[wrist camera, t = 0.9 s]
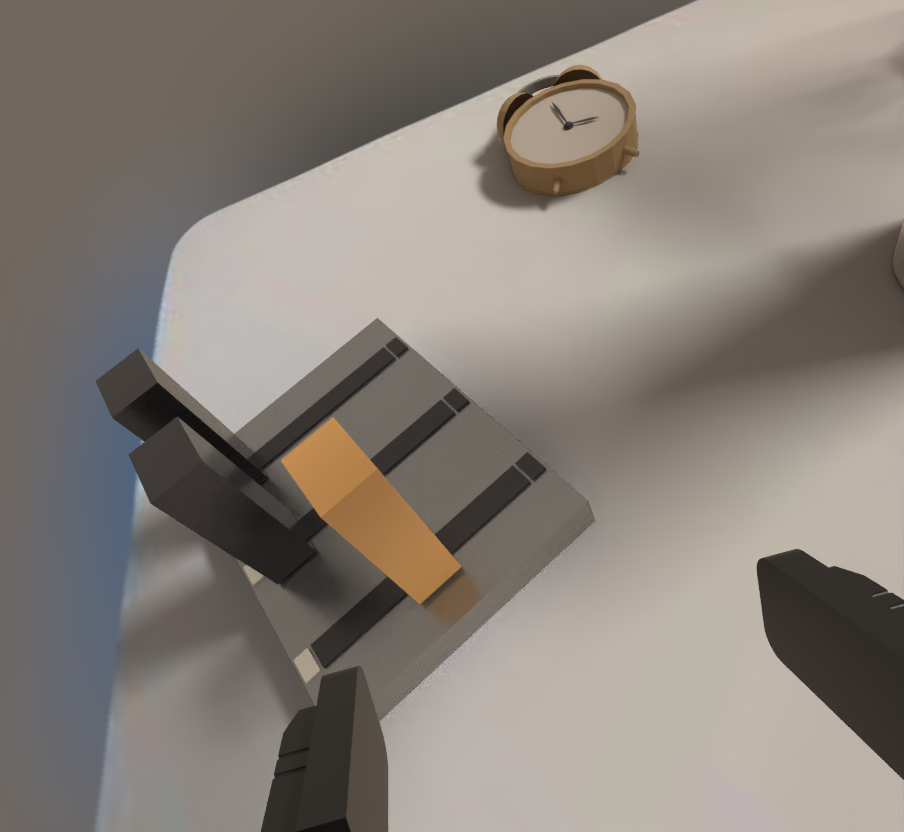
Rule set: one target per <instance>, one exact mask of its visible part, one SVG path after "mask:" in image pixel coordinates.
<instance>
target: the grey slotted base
mask: <svg viewBox="0 0 904 832" xmlns="http://www.w3.org/2000/svg"><path fill="white" fill-rule="evenodd" d="M96 383H97V385H98V387H99V389H100V392H101V394H102V396H103V398H104V401H105V403H106V405H107V407H108V409H109V412H110V414H111V416H112V418H113V419H115V420H116V421H117V422H119V423H120V424H121V425H123V426H124V427H125V428H127V429H128V430H130V431H131V432H132V433H134V434H135V435H136V436H138V437H139V438H140V439H142V440H143V441H144V443H143V444H142V445H140V446H139V447H138V448H136V449H135V450H134V451H133V452H132V453H130V454H129V456H130V458H131V461H132V463H133V465H134V468H135V470H136V472H137V474H138V476H139V479H140V481H141V483H142V485H143V488H144V490H145V492H146V494H147V497H148V499H149V501H150V503H151V504H152V505H154V506H155V507H157V508H158V509H160V510H162V511H163V512H165V513H166V514H168V515H169V516H171V517H173V518H174V519H176V520H177V521H179V522H180V523H182V524H183V525H185V526H187V527H188V528H190V529H191V530H193V531H194V532H196V533H198V534H199V535H201V536H202V537H204V538H205V539H207V540H209V541H210V542H212V543H213V544H215V545H216V546H218V547H220V548H221V549H223V550H224V551H226V552H227V553H229V554H230V555H232V556H234V557H235V558H236V560H237V562H238V564H239V565H240V567H241V569H242V571H243V573H244V575H245V577H246V578H247V580H248V582H249V584H250V586H251V588H252V590H253V591H254V593H255V595H256V597H257V599H258V601H259V603H260V604H261V606H262V608H263V610H264V612H265V614H266V616H267V618H268V619H269V621H270V623H271V625H272V627H273V629H274V631H275V632H276V634H277V636H278V638H279V640H280V642H281V644H282V645H283V647H284V649H285V651H286V653H287V655H288V657H289V658H290V660H291V662H292V664H293V666H294V668H295V670H296V672H297V673H298V675H299V677H300V679H301V681H302V683H303V685H304V686H305V688H306V690H307V692H308V694H309V696H310V698H311V699H312V701H313V703H314V705H315V706H316V705H317V699H318V693H319V688H320V682H321V678H322V676H323V675H326V674H330V673H334V672H338V671H341V670H345V669H349V668H352V667H356V666H361V668H362V669H363V672H364V674H365V677H366V680H367V684H368V687H369V690H370V694H371V697H372V700H373V704H374V707H375V710H376V713H377V717H378V720H379V721H380V720H381V719H382V718H383V717H384V716H385V715H386V714H387V713H388V712H389V711H390V710H392V709H393V708H394V707H395V706H396V705H397V704H398V703H399V702H400V701H401V700H402V699H403V698H404V697H406V696H407V695H408V694H409V693H410V692H411V691H412V690H413V689H414V688H415V687H416V686H417V685H418V684H420V683H421V682H422V681H423V680H424V679H425V678H426V677H427V676H428V675H429V674H430V673H431V672H432V671H434V670H435V669H436V668H437V667H438V666H439V665H440V664H441V663H442V662H443V661H444V660H445V659H446V658H448V657H449V656H450V655H451V654H452V653H453V652H454V651H455V650H456V649H457V648H458V647H459V646H460V645H461V644H463V643H464V642H465V641H466V640H467V639H468V638H469V637H470V636H471V635H472V634H473V633H474V632H475V631H477V630H478V629H479V628H480V627H481V626H482V625H483V624H484V623H485V622H486V621H487V620H488V619H489V618H491V617H492V616H493V615H494V614H495V613H496V612H497V611H498V610H499V609H500V608H501V607H502V606H503V605H505V604H506V603H507V602H508V601H509V600H510V599H511V598H512V597H513V596H514V595H515V594H516V593H517V592H519V591H520V590H521V589H522V588H523V587H524V586H525V585H526V584H527V583H528V582H529V581H530V580H531V579H532V578H534V577H535V576H536V575H537V574H538V573H539V572H540V571H541V570H542V569H543V568H544V567H545V566H546V565H548V564H549V563H550V562H551V561H552V560H553V559H554V558H555V557H556V556H557V555H558V554H559V553H560V552H562V551H563V550H564V549H565V548H566V547H567V546H568V545H569V544H570V543H571V542H572V541H573V540H574V539H576V538H577V537H578V536H579V535H580V534H581V533H582V532H583V531H584V530H585V529H586V528H587V527H588V526H590V525H591V524H592V523H593V522H594V521H595V519H594V516H593V513H592V511H591V508H590V505H589V502H588V501H587V500H586V499H585V498H584V497H583V496H582V495H581V494H579V493H578V492H577V491H576V490H575V489H574V488H572V487H571V486H570V485H569V484H568V483H567V482H566V481H564V480H563V479H562V478H561V477H560V476H559V475H557V474H556V473H555V472H554V471H553V470H552V469H551V468H549V467H548V466H547V465H546V464H545V463H544V462H543V461H541V460H540V459H539V458H538V457H537V456H536V455H534V454H533V453H532V452H531V451H530V450H529V449H528V448H526V447H525V446H524V445H523V444H522V443H521V442H520V441H518V440H517V439H516V438H515V437H514V436H513V435H511V434H510V433H509V432H508V431H507V430H506V429H505V428H503V427H502V426H501V425H500V424H499V423H498V422H496V421H495V420H494V419H493V418H492V417H491V416H490V415H488V414H487V413H486V412H485V411H484V410H483V409H482V408H480V407H479V406H478V405H477V404H476V403H475V402H473V401H472V400H471V399H470V398H469V397H468V396H467V395H465V394H464V393H463V392H462V391H461V390H460V389H459V388H457V387H456V386H455V385H454V384H453V383H452V382H450V381H449V380H448V379H447V378H446V377H445V376H444V375H442V374H441V373H440V372H439V371H438V370H437V369H435V368H434V367H433V366H432V365H431V364H430V363H429V362H427V361H426V360H425V359H424V358H423V357H422V356H421V355H419V354H418V353H417V352H416V351H415V350H414V349H412V348H411V347H410V346H409V345H408V344H407V343H406V342H404V341H403V340H402V339H401V338H400V337H399V336H398V335H396V334H395V333H394V332H393V331H392V330H391V329H389V328H388V327H387V326H386V325H385V324H384V323H383V322H381V321H380V320H379V319H378V318H377V319H376V320H374V321H373V322H372V323H371V324H369V325H368V326H367V327H366V328H364V329H363V330H362V331H361V332H360V333H358V334H357V335H356V336H355V337H353V338H352V339H351V340H350V341H348V342H347V343H346V344H345V345H343V346H342V347H341V348H340V349H339V350H337V351H336V352H335V353H334V354H332V355H331V356H330V357H329V358H327V359H326V360H325V361H324V362H323V363H321V364H320V365H319V366H318V367H316V368H315V369H314V370H313V371H311V372H310V373H309V374H308V375H306V376H305V377H304V378H303V379H302V380H300V381H299V382H298V383H297V384H295V385H294V386H293V387H292V388H290V389H289V390H288V391H287V392H286V393H284V394H283V395H282V396H281V397H279V398H278V399H277V400H276V401H274V402H273V403H272V404H271V405H269V406H268V407H267V408H266V409H265V410H263V411H262V412H261V413H260V414H258V415H257V416H256V417H255V418H253V419H252V420H251V421H250V422H248V423H247V424H246V425H245V426H244V427H242V428H241V429H240V430H239V431H237V432H236V433H235V434H234V433H233V432H231V431H230V430H229V429H228V428H227V427H226V426H225V425H224V424H222V423H221V422H220V421H219V420H218V419H217V418H216V417H215V416H213V415H212V414H211V413H210V412H209V411H208V410H207V409H206V408H204V407H203V406H202V405H201V404H200V403H199V402H198V401H197V400H196V399H194V398H193V397H192V396H191V395H190V394H189V393H188V392H187V391H185V390H184V389H183V388H182V387H181V386H180V385H179V384H178V383H176V382H175V381H174V380H173V379H172V378H171V377H170V376H169V375H168V374H166V373H165V372H164V371H163V370H162V369H161V368H160V367H159V366H157V365H156V364H155V363H154V362H153V361H152V360H151V359H150V358H148V357H147V356H146V355H145V354H144V353H143V352H142V351H141V350H139V349H137V350H135V351H134V352H133V353H132V354H130V355H129V356H128V357H126V358H125V359H124V360H123V361H121V362H120V363H118V364H117V365H116V366H115V367H113V368H112V369H111V370H109V371H108V372H107V373H105V374H104V375H103V376H102V377H100V378H99V379H98V380H96ZM332 417H334V418H335V420H336V421H337V422H338V423H339V424H340V425H341V426H342V428H343V429H344V430H345V431H346V432H347V433H348V435H349V436H350V437H351V438H352V439H353V440H354V442H355V443H356V444H357V445H358V446H359V447H360V449H361V450H362V451H363V452H364V453H365V454H366V456H367V457H368V458H369V459H370V460H371V461H372V463H373V464H374V465H375V466H376V467H377V468H378V470H379V471H380V472H381V473H382V474H383V475H384V477H385V478H386V479H387V480H388V481H389V482H390V484H391V485H392V486H393V487H394V488H395V489H396V491H397V492H398V493H399V494H400V495H401V496H402V498H403V499H404V500H405V501H406V502H407V503H408V505H409V506H410V507H411V508H412V509H413V510H414V512H415V513H416V514H417V515H418V516H419V517H420V519H421V520H422V521H423V522H424V523H425V524H426V526H427V527H428V528H429V529H430V530H431V531H432V533H433V534H434V535H435V536H436V537H437V538H438V540H439V541H440V542H441V543H442V544H443V545H444V547H445V548H446V549H447V550H448V551H449V552H450V554H451V555H452V556H453V557H454V558H455V559H456V561H457V562H458V563H459V564H460V565H461V566H462V567H461V568H460V569H459V570H457V571H456V572H455V573H454V574H453V575H452V576H451V577H450V578H449V579H448V580H446V581H445V582H444V583H443V584H442V585H441V586H440V587H439V588H438V589H437V590H435V591H434V592H433V593H432V594H431V595H430V596H429V597H428V598H427V599H425V600H424V601H423V602H422V603H421V604H419V603H418V602H417V601H415V600H414V599H413V598H412V597H411V596H410V595H409V594H407V593H406V592H405V591H404V590H403V589H402V588H401V587H399V586H398V585H397V584H396V583H395V582H394V581H393V580H391V579H390V578H389V577H388V576H387V575H386V574H385V573H383V572H382V571H381V570H380V569H379V568H378V567H377V566H375V565H374V564H373V563H372V562H371V561H370V560H369V559H367V558H366V557H365V556H364V555H363V554H362V553H361V552H359V551H358V550H357V549H356V548H355V547H354V546H353V545H351V544H350V543H349V542H348V541H347V540H346V539H345V538H343V537H342V536H341V535H340V534H339V533H338V532H337V531H335V530H334V529H333V528H332V527H331V526H330V525H329V524H327V523H326V522H325V521H324V520H323V519H322V518H321V517H320V516H319V514H318V513H317V512H316V510H315V509H314V507H313V506H312V505H311V503H310V502H309V500H308V499H307V497H306V496H305V495H304V493H303V492H302V490H301V489H300V487H299V486H298V485H297V483H296V482H295V480H294V479H293V478H292V476H291V475H290V473H289V472H288V470H287V469H286V468H285V466H284V465H283V463H282V462H281V460H282V459H283V458H284V457H285V456H286V455H288V454H289V453H290V452H291V451H292V450H294V449H295V448H296V447H297V446H298V445H300V444H301V443H302V442H303V441H304V440H306V439H307V438H308V437H309V436H310V435H312V434H313V433H314V432H315V431H317V430H318V429H319V428H320V427H321V426H323V425H324V424H325V423H326V422H327V421H329V420H330V419H331V418H332Z"/></svg>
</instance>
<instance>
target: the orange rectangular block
mask: <svg viewBox="0 0 904 832" xmlns="http://www.w3.org/2000/svg"><path fill="white" fill-rule="evenodd" d="M281 462H282V463H283V465H284V466H285V468H286V469H287V470H288V472H289V473H290V475H291V476H292V478H293V479H294V480H295V482H296V483H297V485H298V486H299V487H300V489H301V490H302V492H303V493H304V495H305V496H306V497H307V499H308V500H309V502H310V503H311V505H312V506H313V507H314V509H315V510H316V512H317V513H318V514H319V516H320V517H321V518H322V519H323V520H324V521H325V522H326V523H327V524H329V525H330V526H331V527H332V528H333V529H334V530H335V531H337V532H338V533H339V534H340V535H341V536H342V537H343V538H345V539H346V540H347V541H348V542H349V543H350V544H351V545H353V546H354V547H355V548H356V549H357V550H358V551H359V552H361V553H362V554H363V555H364V556H365V557H366V558H367V559H369V560H370V561H371V562H372V563H373V564H374V565H375V566H377V567H378V568H379V569H380V570H381V571H382V572H383V573H385V574H386V575H387V576H388V577H389V578H390V579H391V580H393V581H394V582H395V583H396V584H397V585H398V586H399V587H401V588H402V589H403V590H404V591H405V592H406V593H407V594H409V595H410V596H411V597H412V598H413V599H414V600H415V601H417V602H418V603H419V604H421V603H422V602H423V601H424V600H425V599H427V598H428V597H429V596H430V595H431V594H432V593H433V592H434V591H435V590H437V589H438V588H439V587H440V586H441V585H442V584H443V583H444V582H445V581H446V580H448V579H449V578H450V577H451V576H452V575H453V574H454V573H455V572H456V571H457V570H459V569H460V568H461V567H462V566H461V565H460V564H459V563H458V562H457V561H456V559H455V558H454V557H453V556H452V555H451V554H450V552H449V551H448V550H447V549H446V548H445V547H444V545H443V544H442V543H441V542H440V541H439V540H438V538H437V537H436V536H435V535H434V534H433V533H432V531H431V530H430V529H429V528H428V527H427V526H426V524H425V523H424V522H423V521H422V520H421V519H420V517H419V516H418V515H417V514H416V513H415V512H414V510H413V509H412V508H411V507H410V506H409V505H408V503H407V502H406V501H405V500H404V499H403V498H402V496H401V495H400V494H399V493H398V492H397V491H396V489H395V488H394V487H393V486H392V485H391V484H390V482H389V481H388V480H387V479H386V478H385V477H384V475H383V474H382V473H381V472H380V471H379V470H378V468H377V467H376V466H375V465H374V464H373V463H372V461H371V460H370V459H369V458H368V457H367V456H366V454H365V453H364V452H363V451H362V450H361V449H360V447H359V446H358V445H357V444H356V443H355V442H354V440H353V439H352V438H351V437H350V436H349V435H348V433H347V432H346V431H345V430H344V429H343V428H342V426H341V425H340V424H339V423H338V422H337V421H336V420H335V418H334V417H332V418H331V419H330V420H329V421H327V422H326V423H325V424H324V425H323V426H321V427H320V428H319V429H318V430H317V431H315V432H314V433H313V434H312V435H310V436H309V437H308V438H307V439H306V440H304V441H303V442H302V443H301V444H300V445H298V446H297V447H296V448H295V449H294V450H292V451H291V452H290V453H289V454H288V455H286V456H285V457H284V458H283V459H282V460H281Z"/></svg>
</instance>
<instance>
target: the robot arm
mask: <svg viewBox="0 0 904 832" xmlns="http://www.w3.org/2000/svg"><path fill="white" fill-rule="evenodd" d="M893 267H894V271H895V275H896V277H897V279H898V280H899V282H900V284H901V285H902V287H903V288H904V220H903V224H902V227H901V231H900V234H899V238H898V241H897V245H896V248H895V252H894V259H893ZM757 576H758V583H759V591H760V598H761V606H762V613H763V621H764V628H765V632H766V636H767V639H768V641H769V643H770V645H771V647H772V649H773V651H774V653H775V654H776V656H777V657H778V658H779V659H780V661H781V662H782V663H783V664H784V665H785V666H786V667H787V668H789V669H790V670H791V671H792V672H793V673H794V674H795V675H796V676H797V677H798V678H799V679H800V680H801V681H802V682H803V683H804V684H805V685H806V686H807V687H808V688H809V689H810V690H811V691H812V692H813V693H814V694H815V695H816V696H817V697H819V698H820V699H821V700H822V701H823V702H824V703H825V704H826V705H827V706H828V707H829V708H830V709H831V710H832V711H833V712H834V713H835V714H836V715H837V716H838V717H839V718H840V719H841V720H842V721H843V722H844V723H845V724H846V725H847V726H848V727H850V728H851V729H852V730H853V731H854V732H855V733H856V734H857V735H858V736H859V737H860V738H861V739H862V740H863V741H864V742H865V743H866V744H867V745H868V746H869V747H870V748H871V749H872V750H873V751H874V752H875V753H876V754H877V755H878V756H880V757H881V758H882V759H883V760H884V761H885V762H886V763H887V764H888V765H889V766H890V767H891V768H892V769H893V770H894V771H895V772H896V773H897V774H898V775H899V776H900V777H901V778H902V779H903V780H904V600H903V599H901V598H900V597H898V596H897V595H895V594H893V593H888V591H887V589H885V588H884V587H882V586H880V585H879V584H877V583H876V582H874V581H872V580H871V579H869V578H867V577H866V576H864V575H861V574H858V573H855V572H851V571H848V570H845V569H842V568H839V567H836V566H833V567H829V568H828V567H827V566H825V565H824V564H822V563H821V562H819V561H818V560H816V559H814V558H813V557H811V556H810V555H808V554H807V553H805V552H804V551H802V550H799V549H794V550H791V551H787V552H783V553H779V554H776V555H772V556H768V557H765V558H761V559H759V561H758V563H757ZM278 756H279V760H277V764H276V768H275V772H274V777H275V779H273V781H272V785H271V790H270V794H269V798H268V803H267V807H266V812H265V816H264V820H263V825H262V829H261V832H388V761H387V753H386V747H385V742H384V737H383V733H382V730H381V727H380V723H379V720H378V717H377V713H376V710H375V707H374V704H373V700H372V697H371V694H370V690H369V687H368V684H367V680H366V677H365V674H364V672H363V669H362V668H361V666H356V667H352V668H349V669H345V670H341V671H338V672H334V673H330V674H326V675H323V676H322V678H321V682H320V688H319V693H318V699H317V705H316V706H313V707H310V708H306V709H302V710H299V711H298V713H297V714H296V715H295V717H294V718H293V720H292V721H291V723H290V724H289V726H288V727H287V729H286V730H285V732H284V733H283V738H282V742H281V746H280V751H279V755H278Z"/></svg>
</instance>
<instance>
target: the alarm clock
mask: <svg viewBox="0 0 904 832" xmlns="http://www.w3.org/2000/svg"><path fill="white" fill-rule="evenodd" d="M551 86H554V87H551ZM548 87H551V88H549V89H546V90H544V91H542V92H540V93H539V94H537V95H535V96H534V97H533V96H532V95H531V94H533V93H535V92H537V91H539V90H542V89H544V88H548ZM635 111H636V105H635V102H634V100H633V98H632V96H631V94H630V92H628V91H627V90H626V89H624V88H623V87H621V86H620V85H619V84H616V83H612V82H609V81H605V80H602V78H601V77H600V75H599V74H598V73H597V72H596V71H595V70H594V69H592V68H591V67H588V66H584V65H576V66H573V67H570V68H568V69H566V70H565V71H564V72H562V73H561V74H560V75H553V76H547V77H544V78H541V79H538V80H536V81H533V82H531V83H530V84H528V85H526V86H525V87H523V88H522V89H521V90H519V91H518V92H517V93H516V94H514V95H512V96H511V97H509V98H508V99H507V100H506V101H505V102H504V104H503V105H502V107H501V109H500V111H499V114H498V118H497V129H498V134H499V136H500V138H501V139H502V141H503V142H504V143H505V146H506V150H507V153H508V155H509V158H510V162H511V167H512V171H513V174H514V178H515V180H516V181H517V182H518V183H519V184H520V185H521V186H522V187H523V188H524V189H526V190H529V191H531V192H533V193H536V194H540V195H554V196H558V195H564V194H571V193H577V192H580V191H583V190H586V189H589V188H592V187H595V186H597V185H599V184H601V183H603V182H604V181H606V180H608V179H610V178H611V177H613V176H615V175H616V174H617V173H618V172H619V171H620V170H622V169H623V168H624V167H625V166H626V165H627V164H628V163H629V162H630V160H631V158H632V157H633V156H636V157H637V156H638V155H639V151H637V142H638V132H637V126H636V114H635Z"/></svg>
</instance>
